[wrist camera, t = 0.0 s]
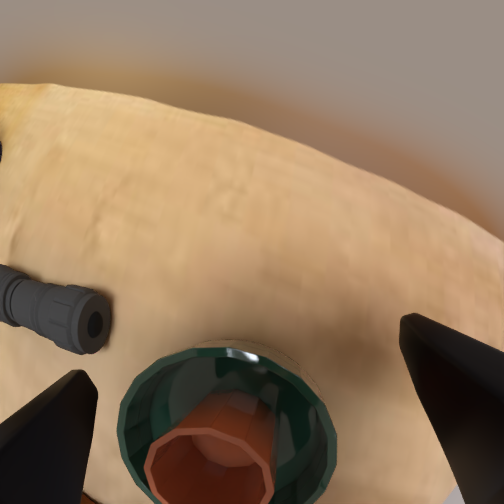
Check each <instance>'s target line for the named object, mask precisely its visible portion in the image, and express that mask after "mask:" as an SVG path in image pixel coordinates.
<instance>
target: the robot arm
mask: <svg viewBox="0 0 504 504" xmlns="http://www.w3.org/2000/svg"><path fill="white" fill-rule="evenodd" d="M399 345H400V349H401V352H402V354H403V357H404V360H405V362H406V365H407V368H408V370H409V373H410V376H411V379H412V382H413V384H414V387H415V390H416V392H417V395H418V397H419V399H420V402H421V404H422V406H423V408H424V410H425V412H426V414H427V416H428V418H429V420H430V422H431V424H432V427H433V429H434V431H435V433H436V435H437V437H438V440H439V442H440V444H441V446H442V449H443V451H444V453H445V455H446V458H447V460H448V462H449V465H450V467H451V470H452V472H453V474H454V477H455V479H456V482H457V484H458V486H459V489H460V492H461V494H462V497H463V499H464V502H465V504H504V352H502V351H500V350H498V349H495V348H493V347H491V346H489V345H487V344H485V343H482V342H480V341H478V340H476V339H474V338H471V337H469V336H467V335H465V334H462V333H460V332H458V331H456V330H454V329H451V328H449V327H447V326H445V325H442V324H440V323H438V322H436V321H434V320H431V319H429V318H427V317H425V316H422V315H420V314H418V313H411V314H408V315H405V316H403V317H402V318H401V320H400V334H399ZM97 400H98V391H97V388H96V387H95V385H94V384H93V382H92V381H91V379H90V378H89V376H88V374H87V373H86V372H85V371H84V370H81V369H80V370H71V371H70V372H68V373H67V374H66V375H64V376H63V377H62V378H60V379H59V380H58V381H56V382H55V383H54V384H52V385H51V386H50V387H48V388H47V389H46V390H44V391H43V392H42V393H40V394H39V395H38V396H36V397H35V398H34V399H33V400H31V401H30V402H29V403H27V404H26V405H25V406H23V407H22V408H21V409H19V410H18V411H17V412H15V413H14V414H13V415H11V416H10V417H9V418H7V419H6V420H5V421H4V422H2V423H1V424H0V504H81V497H82V491H83V485H84V479H85V474H86V468H87V463H88V458H89V453H90V448H91V443H92V438H93V431H94V423H95V415H96V407H97Z"/></svg>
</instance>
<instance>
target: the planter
mask: <svg viewBox="0 0 504 504" xmlns="http://www.w3.org/2000/svg"><path fill="white" fill-rule="evenodd" d="M228 389H238V390H240V391H243V392H245V393H248V394H251V395H254V396H256V397H259V398H260V399H261V400H262V401H263V402H264V403H265V405H266V406H267V407H268V408H269V409H270V410H271V411H272V412H273V413H274V414H275V416H276V421H277V427H278V433H279V444H278V457H277V468H276V480H275V491H274V494H273V496H272V498H271V500H270V501H269V503H268V504H314V503H315V502H316V501H317V500H318V498H319V497H320V496H321V495H322V494H323V493H324V492H325V490H326V488H327V486H328V484H329V481H330V479H331V477H332V474H333V472H334V470H335V467H336V465H337V434H336V431H335V428H334V426H333V423H332V421H331V418H330V416H329V413H328V411H327V408H326V405H325V403H324V400H323V398H322V395H321V393H320V390H319V388H318V386H317V385H316V384H315V383H314V381H313V380H312V379H311V378H310V376H309V375H308V374H307V373H306V372H305V371H304V370H303V369H302V368H301V367H300V365H299V364H297V363H296V362H294V361H293V360H292V359H290V358H289V357H287V356H286V355H284V354H282V353H281V352H279V351H277V350H275V349H273V348H270V347H268V346H265V345H262V344H258V343H255V342H250V341H244V340H232V339H226V340H213V341H206V342H204V343H201V344H198V345H195V346H192V347H190V348H187V349H184V350H181V351H178V352H176V353H173V354H170V355H168V356H165V357H162V358H160V359H158V360H157V361H156V362H154V363H153V364H152V365H151V366H149V367H148V368H147V369H145V370H144V371H143V372H142V373H140V374H139V375H138V376H137V377H136V378H135V379H134V380H133V382H132V384H131V386H130V387H129V389H128V391H127V392H126V394H125V396H124V398H123V399H122V401H121V404H120V410H119V416H118V423H117V437H118V442H119V447H120V452H121V457H122V459H123V461H124V463H125V465H126V467H127V469H128V471H129V473H130V474H131V476H132V478H133V480H134V482H135V483H136V485H137V486H138V487H139V488H140V489H141V490H142V491H143V492H144V493H145V494H146V495H147V496H148V497H149V498H150V499H151V500H152V501H153V502H154V503H155V504H162V503H161V502H160V501H159V500H158V499H157V498H156V497H155V496H154V495H153V493H152V492H151V489H150V486H149V483H148V480H147V477H146V474H145V471H144V464H145V461H146V458H147V455H148V452H149V449H150V446H151V444H152V443H153V442H154V441H155V440H156V439H157V438H158V437H159V436H160V435H161V434H162V433H163V432H164V431H166V430H167V429H168V428H169V427H170V426H171V425H172V424H173V423H174V422H175V421H176V420H177V419H178V418H179V417H180V416H181V415H182V414H184V413H185V412H186V411H187V410H188V409H189V408H190V407H191V406H192V405H193V404H194V403H195V402H197V401H198V400H200V399H201V398H202V397H204V396H205V395H207V394H208V393H209V392H211V391H219V390H228Z"/></svg>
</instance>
